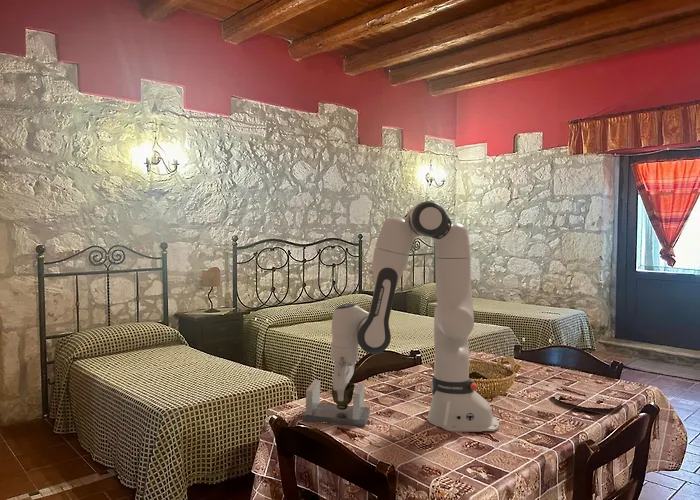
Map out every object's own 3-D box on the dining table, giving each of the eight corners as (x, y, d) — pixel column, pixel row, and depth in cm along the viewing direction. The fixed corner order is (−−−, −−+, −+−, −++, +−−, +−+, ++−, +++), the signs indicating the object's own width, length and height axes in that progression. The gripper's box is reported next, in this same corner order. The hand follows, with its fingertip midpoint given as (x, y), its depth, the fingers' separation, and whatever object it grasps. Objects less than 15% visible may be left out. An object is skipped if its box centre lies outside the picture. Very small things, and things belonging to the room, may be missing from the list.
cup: (350, 414, 172) (351, 389, 172) (328, 411, 174) (329, 387, 173) (355, 405, 180) (356, 381, 179) (333, 402, 181) (334, 379, 180)
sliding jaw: (319, 403, 184) (320, 380, 184) (311, 415, 172) (312, 390, 172) (313, 402, 184) (314, 379, 184) (305, 414, 172) (306, 390, 172)
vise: (369, 413, 181) (370, 383, 181) (365, 426, 170) (366, 394, 169) (310, 408, 184) (311, 379, 184) (302, 421, 173) (303, 389, 172)
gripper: (349, 362, 165) (347, 408, 166) (358, 348, 185) (357, 388, 186) (328, 361, 166) (327, 406, 167) (340, 346, 186) (338, 386, 187)
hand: (343, 396), depth 176 cm, fingers closed on cup, 7 cm apart
